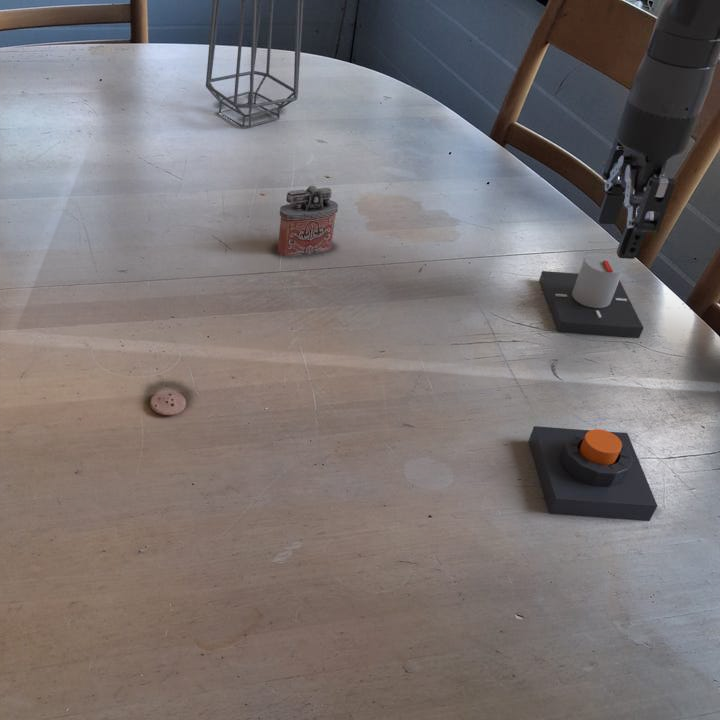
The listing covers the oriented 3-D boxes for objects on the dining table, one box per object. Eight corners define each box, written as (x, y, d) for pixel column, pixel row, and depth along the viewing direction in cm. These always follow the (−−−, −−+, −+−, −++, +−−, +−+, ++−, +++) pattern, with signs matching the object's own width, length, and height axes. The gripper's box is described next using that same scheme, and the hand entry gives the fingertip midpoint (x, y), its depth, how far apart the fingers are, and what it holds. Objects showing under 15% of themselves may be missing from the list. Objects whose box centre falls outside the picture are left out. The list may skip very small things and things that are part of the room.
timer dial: (567, 286, 115) (580, 249, 112) (604, 288, 116) (619, 251, 112) (577, 307, 112) (590, 269, 108) (615, 309, 112) (630, 271, 108)
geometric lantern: (260, 94, 165) (276, -134, 141) (312, 125, 156) (339, -113, 132) (187, 109, 158) (190, -129, 134) (237, 143, 149) (251, -106, 125)
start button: (610, 443, 92) (616, 430, 91) (620, 467, 89) (626, 454, 88) (575, 440, 92) (581, 427, 91) (584, 464, 89) (589, 451, 88)
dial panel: (610, 296, 120) (618, 275, 118) (635, 348, 112) (644, 326, 109) (535, 290, 120) (542, 269, 118) (554, 342, 111) (562, 320, 109)
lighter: (324, 248, 125) (334, 179, 118) (335, 260, 123) (345, 190, 116) (271, 256, 123) (277, 186, 116) (281, 268, 120) (288, 198, 114)
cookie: (152, 418, 96) (152, 411, 95) (147, 395, 99) (147, 388, 98) (188, 416, 97) (188, 408, 96) (183, 392, 100) (183, 385, 99)
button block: (620, 448, 97) (633, 419, 95) (649, 521, 89) (664, 492, 87) (528, 441, 97) (538, 412, 94) (549, 514, 89) (561, 485, 86)
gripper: (723, 129, 91) (665, 271, 102) (678, 79, 102) (629, 213, 113) (650, 125, 91) (599, 267, 102) (612, 75, 102) (570, 210, 113)
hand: (615, 239), depth 108 cm, fingers open, 8 cm apart
